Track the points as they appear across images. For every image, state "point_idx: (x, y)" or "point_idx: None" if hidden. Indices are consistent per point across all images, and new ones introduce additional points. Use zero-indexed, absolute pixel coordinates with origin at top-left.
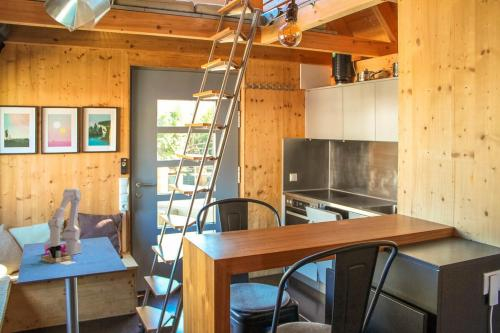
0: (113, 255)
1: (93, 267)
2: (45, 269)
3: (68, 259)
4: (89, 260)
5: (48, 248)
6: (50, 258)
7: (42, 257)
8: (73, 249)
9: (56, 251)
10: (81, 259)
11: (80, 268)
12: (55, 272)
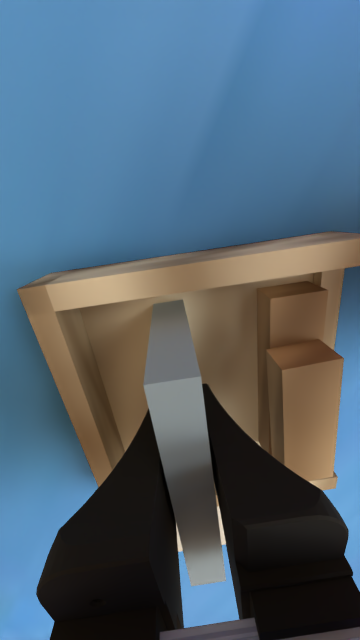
0: None
1: None
2: (11, 558)
3: None
4: (356, 522)
5: (54, 540)
6: (94, 473)
7: (35, 314)
8: None
9: (182, 547)
10: (353, 473)
11: (191, 615)
12: (49, 618)
